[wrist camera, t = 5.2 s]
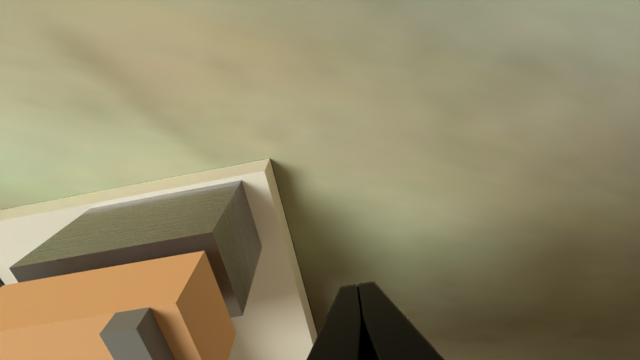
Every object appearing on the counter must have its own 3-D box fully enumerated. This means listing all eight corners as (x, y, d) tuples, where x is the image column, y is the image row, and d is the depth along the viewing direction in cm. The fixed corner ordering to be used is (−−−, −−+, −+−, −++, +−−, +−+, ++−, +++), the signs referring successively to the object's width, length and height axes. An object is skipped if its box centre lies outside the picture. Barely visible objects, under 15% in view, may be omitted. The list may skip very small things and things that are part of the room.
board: (62, 460, 23) (46, 487, 22) (-117, 232, 16) (-157, 250, 15) (341, 424, 22) (342, 451, 20) (269, 158, 15) (264, 170, 14)
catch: (54, 360, 11) (-22, 451, 8) (3, 285, 10) (-101, 365, 7) (236, 332, 10) (211, 421, 8) (204, 250, 9) (163, 324, 7)
